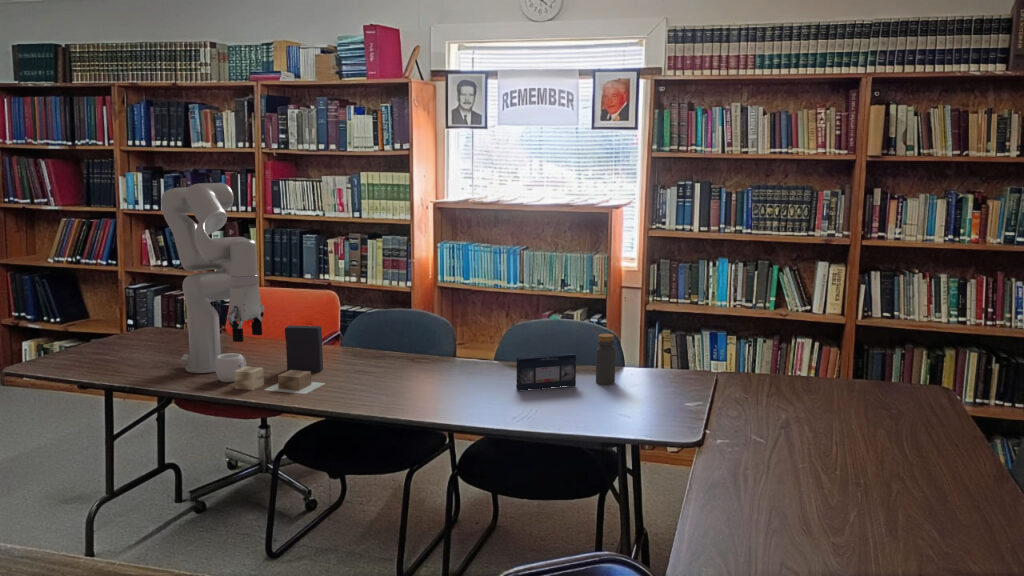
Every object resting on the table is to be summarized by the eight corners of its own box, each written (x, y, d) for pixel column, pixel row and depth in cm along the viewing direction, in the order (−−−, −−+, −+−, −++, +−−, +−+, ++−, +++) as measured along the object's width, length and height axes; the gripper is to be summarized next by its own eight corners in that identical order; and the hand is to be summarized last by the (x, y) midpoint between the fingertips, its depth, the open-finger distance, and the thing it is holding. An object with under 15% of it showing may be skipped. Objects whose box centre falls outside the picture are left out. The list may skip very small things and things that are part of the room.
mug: (232, 385, 261) (231, 360, 260) (210, 382, 264) (208, 357, 263) (257, 375, 272) (256, 351, 271) (235, 373, 275) (234, 349, 274)
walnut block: (278, 388, 255) (277, 375, 254) (291, 382, 262) (290, 369, 261) (299, 390, 253) (298, 377, 252) (311, 384, 260) (310, 371, 259)
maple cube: (235, 390, 255) (234, 371, 254) (247, 385, 261) (246, 366, 260) (252, 392, 254) (251, 372, 253) (264, 387, 259) (263, 367, 258)
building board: (263, 391, 254) (263, 389, 254) (285, 381, 265) (285, 379, 265) (305, 395, 250) (305, 393, 250) (325, 385, 261) (325, 383, 261)
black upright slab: (323, 370, 278) (322, 325, 276) (319, 374, 274) (318, 328, 271) (291, 369, 279) (289, 324, 277) (286, 373, 275) (284, 327, 273)
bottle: (592, 383, 264) (593, 335, 261) (600, 379, 269) (600, 332, 266) (610, 386, 261) (611, 337, 258) (617, 381, 266) (618, 334, 264)
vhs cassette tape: (518, 391, 255) (518, 359, 253) (515, 389, 258) (515, 356, 256) (576, 387, 260) (577, 355, 258) (573, 384, 263) (573, 353, 261)
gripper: (250, 277, 261) (253, 332, 264) (215, 285, 245) (219, 343, 248) (272, 277, 259) (274, 333, 262) (238, 286, 243) (241, 345, 245)
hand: (247, 338), depth 255 cm, fingers open, 9 cm apart
